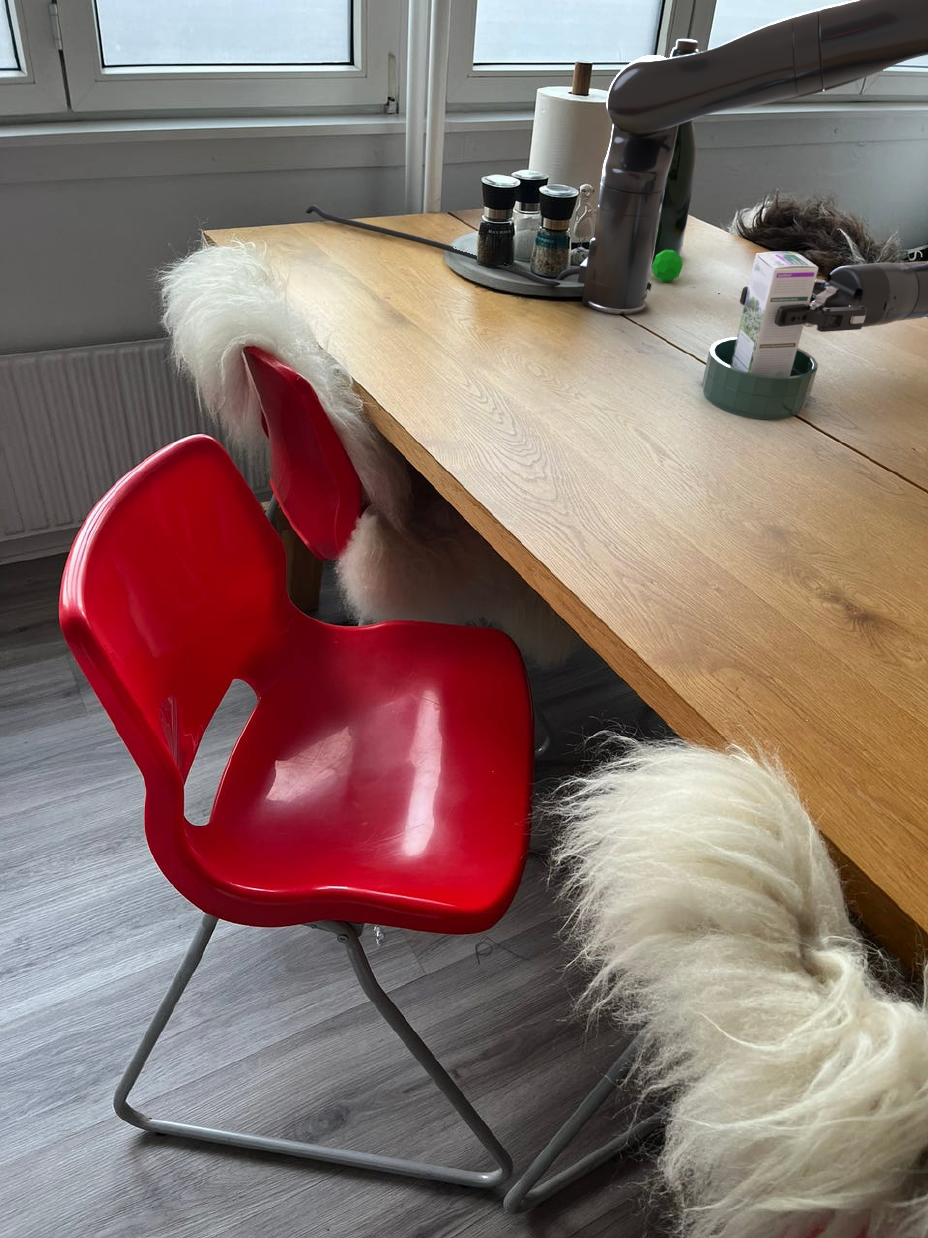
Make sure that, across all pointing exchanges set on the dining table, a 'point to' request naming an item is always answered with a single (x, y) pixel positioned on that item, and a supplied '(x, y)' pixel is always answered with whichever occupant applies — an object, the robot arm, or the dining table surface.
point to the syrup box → (772, 313)
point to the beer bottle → (678, 177)
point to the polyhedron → (667, 265)
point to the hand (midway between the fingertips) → (760, 306)
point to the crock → (756, 385)
